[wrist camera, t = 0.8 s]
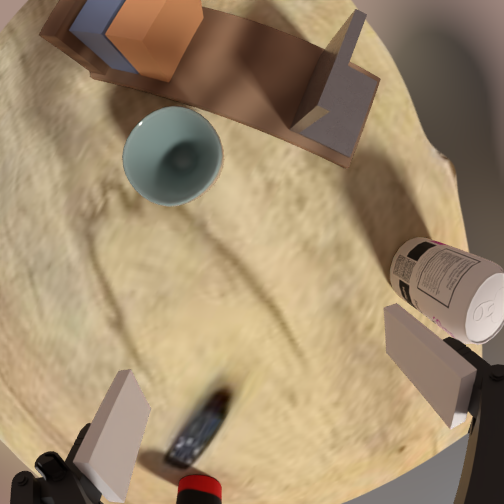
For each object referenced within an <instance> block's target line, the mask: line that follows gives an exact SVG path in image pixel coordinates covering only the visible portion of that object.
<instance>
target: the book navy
mask: <svg viewBox="0 0 504 504" xmlns="http://www.w3.org/2000/svg"><path fill="white" fill-rule="evenodd" d="M125 1H126V0H87V2H86V3H85V5H84V6H83V8H82V9H81V11H80V13H79V14H78V16H77V18H76V19H75V21H74V23H73V24H72V26H71V28H70V29H69V31H70V32H71V33H73V34H74V35H75V36H76V37H77V38H78V39H79V40H81V41H82V42H83V43H84V44H85V45H86V46H87V47H89V48H90V49H91V50H92V51H93V52H94V53H95V54H96V55H98V56H99V57H100V58H101V59H102V60H103V61H104V62H105V63H106V64H108V65H109V66H110V67H111V68H112V69H117V70H121V71H126V72H130V73H134V74H138V73H139V72H138V71H137V70H136V69H135V68H134V67H133V66H132V64H131V63H130V62H129V61H128V60H127V59H126V58H125V56H124V55H123V54H122V53H121V52H120V51H119V50H118V49H117V47H116V46H115V45H114V44H113V43H112V42H111V41H110V40H109V39H108V37H107V36H106V35H105V34H106V32H107V30H108V28H109V27H110V25H111V23H112V22H113V20H114V18H115V17H116V15H117V13H118V12H119V10H120V9H121V7H122V6H123V4H124V2H125Z"/></svg>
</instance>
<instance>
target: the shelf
mask: <svg viewBox="0 0 504 504" xmlns="http://www.w3.org/2000/svg"><path fill="white" fill-rule="evenodd" d="M86 2H87V0H59V2H58V3H57V5H56V6H55V8H54V10H53V11H52V13H51V15H50V16H49V18H48V20H47V21H46V23H45V25H44V26H43V28H42V30H41V32H40V34H39V35H40V36H41V37H42V38H44V39H45V40H47V41H48V42H50V43H51V44H53V45H54V46H55V47H57V48H58V49H60V50H61V51H62V52H64V53H65V54H67V55H68V56H70V57H71V58H72V59H74V60H75V61H76V62H78V63H79V64H81V65H82V66H83V67H85V68H86V69H87V70H89V71H90V72H92V73H91V75H90V77H91V78H93V79H95V80H99V81H104V82H108V83H112V84H117V85H121V86H125V87H129V88H132V89H136V90H140V91H144V92H147V93H151V94H154V95H158V96H161V97H165V98H168V99H171V100H175V101H178V102H181V103H184V104H187V105H190V106H193V107H196V108H200V109H202V110H205V111H208V112H211V113H214V114H217V115H220V116H223V117H225V118H228V119H231V120H234V121H236V122H239V123H242V124H244V125H247V126H249V127H252V128H255V129H257V130H260V131H262V132H265V133H267V134H270V135H272V136H274V137H277V138H279V139H282V140H284V141H286V142H289V143H291V144H293V145H296V146H298V147H300V148H302V149H305V150H307V151H309V152H311V153H313V154H316V155H318V156H320V157H322V158H324V159H326V160H328V161H331V162H333V163H335V164H337V165H339V166H341V167H343V168H349V166H350V163H351V161H352V158H353V155H354V153H355V150H356V147H357V145H358V142H359V139H360V137H361V134H362V131H363V128H364V126H365V123H366V120H367V117H368V114H369V112H370V109H371V106H372V103H373V100H374V97H375V94H376V91H377V88H378V85H379V82H380V78H378V77H377V76H375V75H373V74H371V73H370V72H368V71H366V70H364V69H362V68H361V67H359V66H357V65H355V64H353V63H351V62H349V64H348V66H350V67H352V68H354V69H355V70H357V71H359V72H361V73H363V74H365V75H367V76H368V77H370V78H372V79H374V80H375V81H377V84H376V87H375V90H374V93H373V96H372V99H371V102H370V105H369V107H368V110H367V113H366V116H365V119H364V121H363V124H362V127H361V130H360V132H359V135H358V138H357V141H356V143H355V146H354V149H353V151H352V154H351V157H350V158H348V157H346V156H344V155H342V154H340V153H338V152H336V151H334V150H332V149H330V148H328V147H326V146H323V145H321V144H319V143H317V142H315V141H313V140H311V139H308V138H306V137H304V136H302V135H299V134H297V133H295V132H293V131H290V130H289V129H290V127H291V124H292V122H293V120H294V117H295V115H296V112H297V110H298V108H299V105H300V103H301V100H302V98H303V95H304V93H305V91H306V88H307V86H308V84H309V81H310V79H311V76H312V74H313V72H314V69H315V67H316V64H317V62H318V60H319V57H320V55H321V53H322V52H323V51H324V49H322V48H320V47H318V46H316V45H314V44H311V43H309V42H307V41H304V40H302V39H300V38H297V37H295V36H292V35H290V34H287V33H285V32H282V31H279V30H277V29H274V28H271V27H268V26H266V25H263V24H260V23H257V22H254V21H251V20H248V19H245V18H241V17H238V16H235V15H231V14H228V13H224V12H221V11H217V10H213V9H209V8H205V7H202V11H203V17H204V18H203V20H202V21H201V23H200V25H199V27H198V28H197V30H196V32H195V34H194V36H193V37H192V39H191V41H190V43H189V45H188V47H187V48H186V50H185V52H184V54H183V56H182V58H181V60H180V62H179V64H178V66H177V68H176V70H175V72H174V74H173V76H172V78H171V80H170V82H169V83H168V82H165V81H161V80H157V79H154V78H150V77H146V76H142V75H140V74H139V73H138V74H134V73H130V72H126V71H121V70H117V69H112V68H111V67H110V66H109V65H108V64H106V63H105V62H104V61H103V60H102V59H101V58H100V57H99V56H98V55H96V54H95V53H94V52H93V51H92V50H91V49H90V48H89V47H87V46H86V45H85V44H84V43H83V42H82V41H81V40H79V39H78V38H77V37H76V36H75V35H74V34H73V33H71V32H70V31H69V29H70V28H71V26H72V24H73V23H74V21H75V19H76V18H77V16H78V14H79V13H80V11H81V9H82V8H83V6H84V5H85V3H86Z"/></svg>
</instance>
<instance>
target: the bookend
mask: <svg viewBox="0 0 504 504" xmlns="http://www.w3.org/2000/svg"><path fill="white" fill-rule="evenodd" d="M366 15H367V14H364V13H363V12H361V11H359V10H357V9H355V11H354V12H353V13H352V14H351V16H350V17H349V18H348V19H347V21H346V22H345V23H344V25H343V26H342V27H341V28H340V30H339V31H338V32H337V34H336V35H335V36H334V38H333V39H332V40H331V41H330V43H329V44H328V45H327V47H326V48H325V49H324V51H323V52H322V53H321V55H320V57H319V60H318V62H317V64H316V67H315V69H314V72H313V74H312V76H311V79H310V81H309V84H308V86H307V88H306V91H305V93H304V95H303V98H302V100H301V103H300V105H299V108H298V110H297V112H296V115H295V117H294V120H293V122H292V124H291V127H290V129H289V130H290V131H293V132H295V133H297V134H299V135H302V136H304V137H306V138H308V139H311V140H313V141H315V142H317V143H319V144H321V145H323V146H326V147H328V148H330V149H332V150H334V151H336V152H338V153H340V154H342V155H344V156H346V157H348V158H350V157H351V154H352V151H353V149H354V146H355V143H356V141H357V138H358V135H359V132H360V130H361V127H362V124H363V121H364V119H365V116H366V113H367V110H368V107H369V105H370V102H371V99H372V96H373V93H374V90H375V87H376V84H377V81H375V80H374V79H372V78H370V77H368V76H367V75H365V74H363V73H361V72H359V71H357V70H355V69H354V68H352V67H350V66H348V64H349V61H350V59H351V56H352V53H353V51H354V48H355V45H356V43H357V40H358V37H359V35H360V32H361V29H362V27H363V24H364V21H365V18H366Z"/></svg>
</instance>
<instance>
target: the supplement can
mask: <svg viewBox="0 0 504 504" xmlns="http://www.w3.org/2000/svg"><path fill="white" fill-rule="evenodd" d="M390 281H391V284H392V287H393V290H394V291H395V292H396V293H397V294H398V296H399V297H401V298H402V299H404V300H405V301H406V302H408V303H409V304H410V305H412V306H413V307H414V308H416V309H417V310H418V311H420V312H421V313H422V314H424V315H425V316H426V317H428V318H429V319H430V320H432V321H433V322H434V323H435V324H437V325H438V326H439V327H441V328H442V329H443V330H445V331H446V332H447V333H448V334H450V335H451V336H452V337H454V338H455V339H457V340H460V341H461V342H462V343H465V344H472V343H474V344H477V345H478V344H483V343H486V342H487V341H489V340H490V339H492V338H493V337H494V336H495V335H496V334H497V333H498V332H499V331H500V329H501V328H502V326H503V324H504V271H503V269H502V268H501V267H500V266H499V265H497V264H496V263H495V262H492V261H490V260H487V259H484V258H482V257H479V256H476V255H473V254H471V253H468V252H465V251H463V250H460V249H457V248H454V247H452V246H449V245H446V244H443V243H440V242H437V241H434V240H431V239H428V238H425V237H416V238H413V239H410V240H408V241H407V242H405V243H404V244H403V245H402V246H401V247H400V248H399V249H398V251H397V252H396V254H395V256H394V257H393V260H392V264H391V267H390Z"/></svg>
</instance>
